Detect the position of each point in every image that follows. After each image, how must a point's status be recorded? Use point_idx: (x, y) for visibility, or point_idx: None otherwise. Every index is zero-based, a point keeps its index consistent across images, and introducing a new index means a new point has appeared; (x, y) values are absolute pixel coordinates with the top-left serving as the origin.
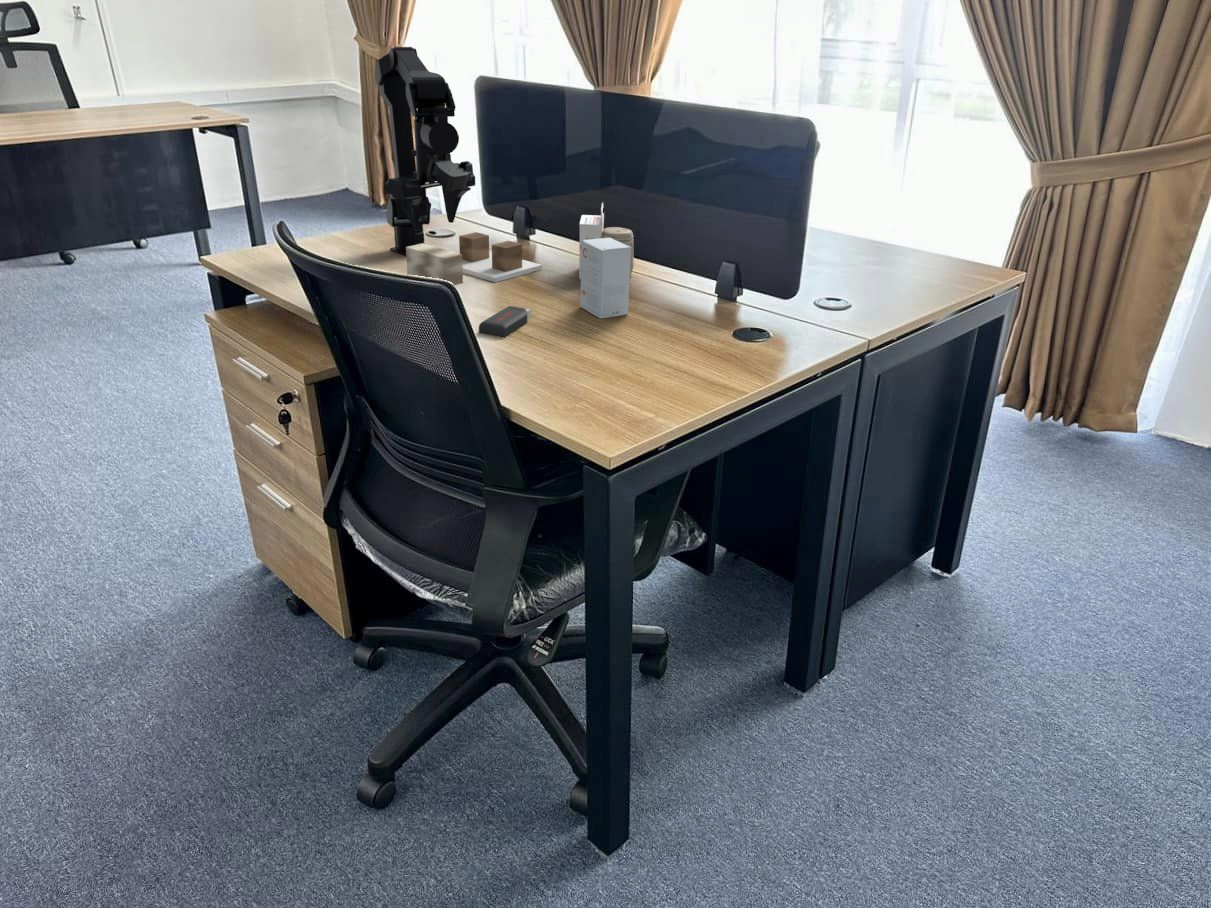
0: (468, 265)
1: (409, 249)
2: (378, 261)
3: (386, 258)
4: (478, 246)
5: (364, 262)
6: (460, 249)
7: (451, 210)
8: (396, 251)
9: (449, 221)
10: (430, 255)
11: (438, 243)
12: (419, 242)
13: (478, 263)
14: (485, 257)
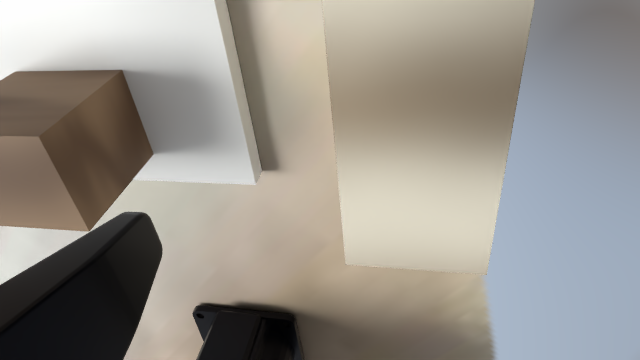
0: (165, 38)
1: (490, 242)
2: (416, 336)
3: (368, 339)
4: (28, 107)
5: (462, 355)
6: (127, 177)
7: (55, 332)
8: (302, 355)
9: (155, 244)
10: (524, 34)
11: None
12: (229, 341)
13: (100, 33)
14: (33, 74)
